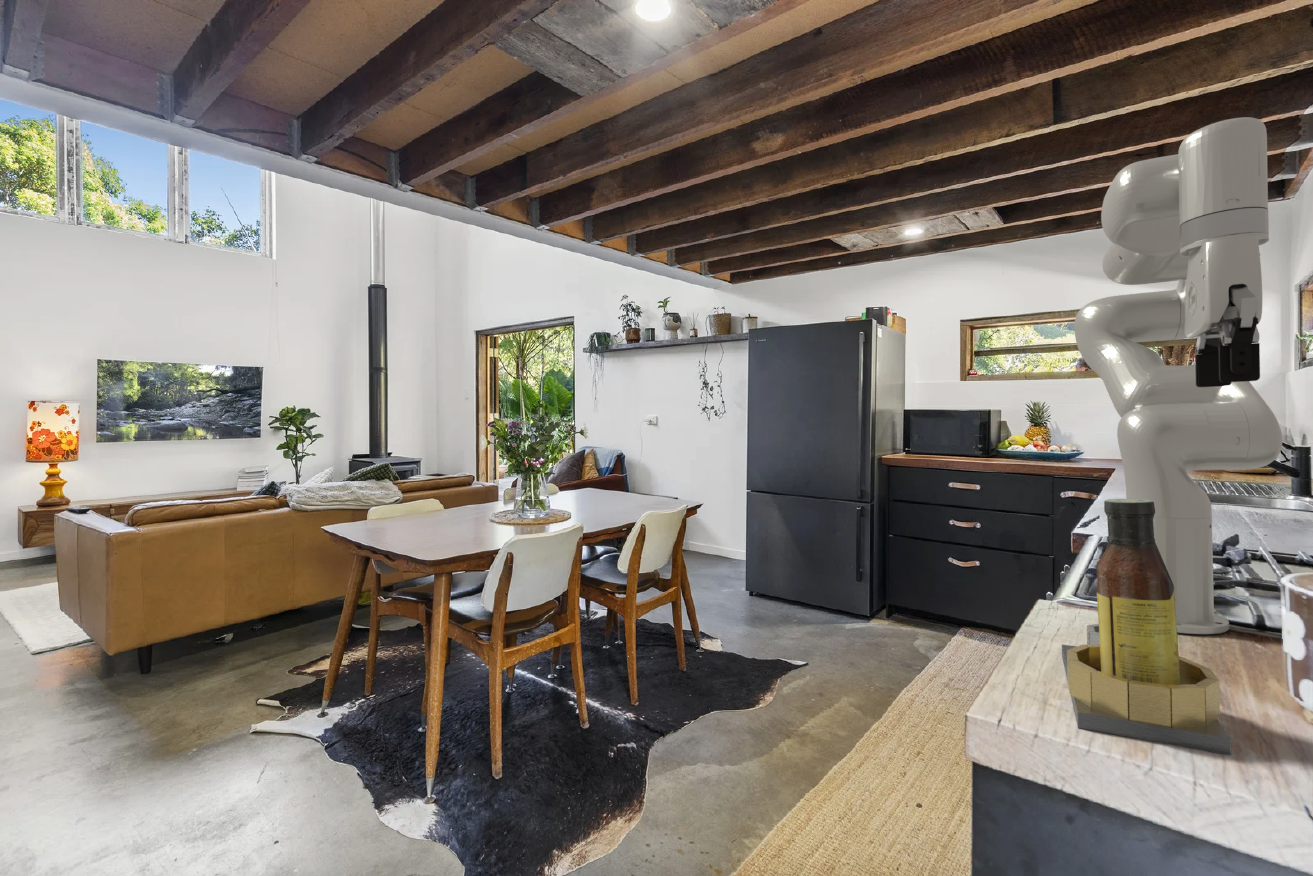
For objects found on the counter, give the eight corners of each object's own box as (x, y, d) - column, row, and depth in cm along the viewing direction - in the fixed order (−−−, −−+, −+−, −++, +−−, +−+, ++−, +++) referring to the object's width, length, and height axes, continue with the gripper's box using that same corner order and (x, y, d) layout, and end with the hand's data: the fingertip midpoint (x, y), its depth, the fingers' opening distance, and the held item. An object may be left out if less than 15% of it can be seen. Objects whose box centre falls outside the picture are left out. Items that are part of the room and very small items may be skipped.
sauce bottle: (1197, 708, 59) (1193, 502, 59) (1144, 715, 58) (1140, 505, 58) (1132, 681, 65) (1128, 495, 65) (1083, 688, 64) (1079, 498, 64)
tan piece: (1059, 656, 77) (1058, 616, 77) (1178, 672, 71) (1177, 629, 71) (1074, 727, 59) (1073, 675, 59) (1235, 756, 53) (1234, 698, 53)
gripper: (1164, 258, 80) (1167, 389, 80) (1200, 220, 65) (1203, 381, 65) (1241, 248, 76) (1244, 386, 76) (1298, 205, 61) (1301, 376, 61)
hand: (1225, 384), depth 71 cm, fingers open, 9 cm apart
